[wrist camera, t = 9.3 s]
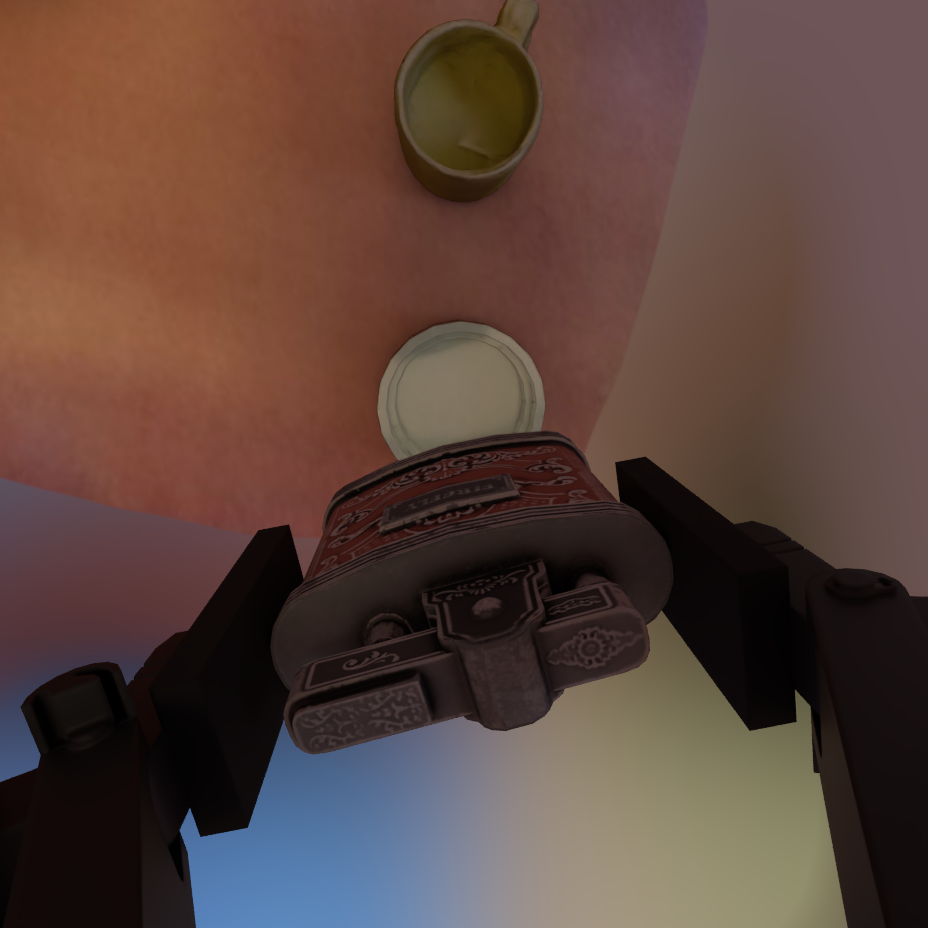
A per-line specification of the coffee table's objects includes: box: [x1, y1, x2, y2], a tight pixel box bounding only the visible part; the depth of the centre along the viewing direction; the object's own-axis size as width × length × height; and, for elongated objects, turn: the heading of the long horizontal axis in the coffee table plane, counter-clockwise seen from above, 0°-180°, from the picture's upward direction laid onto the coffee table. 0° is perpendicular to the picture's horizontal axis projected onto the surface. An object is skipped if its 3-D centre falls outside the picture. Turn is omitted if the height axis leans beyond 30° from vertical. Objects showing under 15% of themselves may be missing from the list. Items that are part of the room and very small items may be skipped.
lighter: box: [270, 431, 673, 754], centre depth 15 cm, size 8×3×10 cm, turn 105°
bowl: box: [377, 320, 545, 461], centre depth 51 cm, size 12×12×4 cm
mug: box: [394, 0, 543, 202], centre depth 44 cm, size 12×10×10 cm
